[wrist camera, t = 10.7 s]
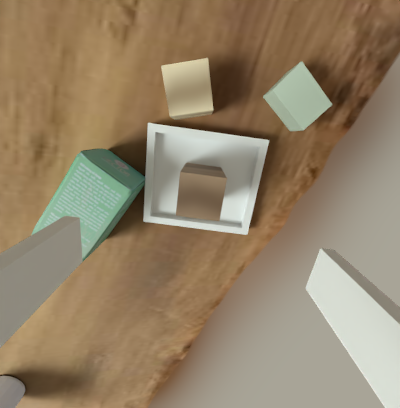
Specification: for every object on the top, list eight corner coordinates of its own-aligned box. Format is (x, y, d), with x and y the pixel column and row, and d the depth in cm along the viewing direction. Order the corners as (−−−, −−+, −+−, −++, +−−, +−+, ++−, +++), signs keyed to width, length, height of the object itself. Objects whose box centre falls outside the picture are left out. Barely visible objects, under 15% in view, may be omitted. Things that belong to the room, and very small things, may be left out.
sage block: (262, 96, 27) (272, 90, 23) (287, 72, 26) (301, 60, 22) (289, 131, 28) (303, 130, 24) (314, 109, 27) (332, 104, 23)
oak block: (168, 78, 26) (161, 65, 21) (207, 72, 26) (208, 58, 21) (175, 119, 28) (169, 116, 23) (211, 114, 27) (213, 109, 23)
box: (150, 177, 30) (133, 189, 23) (106, 239, 34) (80, 267, 27) (108, 145, 29) (76, 148, 22) (66, 214, 32) (28, 235, 25)
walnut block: (186, 162, 29) (180, 171, 21) (220, 167, 29) (227, 178, 21) (182, 195, 30) (175, 215, 23) (215, 200, 30) (219, 221, 23)
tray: (151, 123, 28) (147, 122, 26) (265, 139, 28) (269, 140, 26) (146, 216, 32) (143, 221, 30) (244, 229, 33) (247, 234, 31)
